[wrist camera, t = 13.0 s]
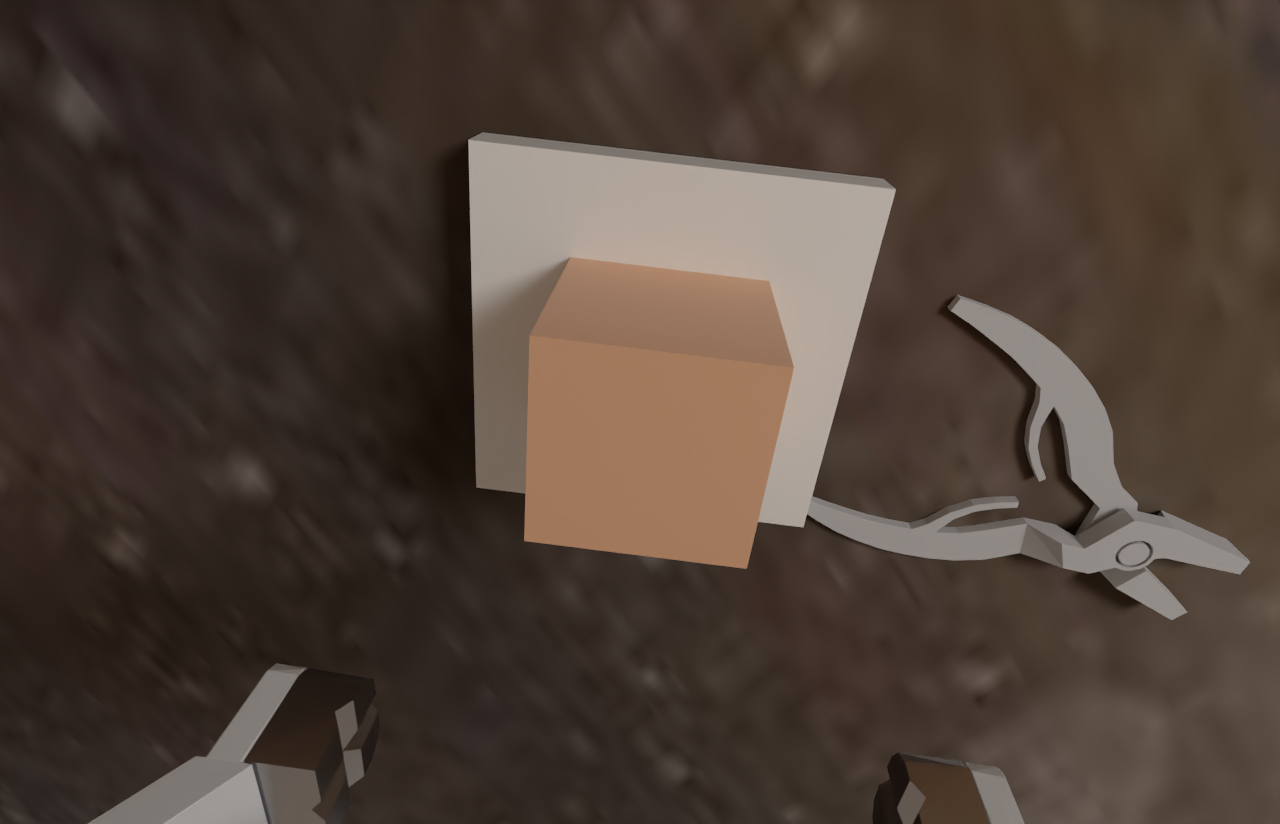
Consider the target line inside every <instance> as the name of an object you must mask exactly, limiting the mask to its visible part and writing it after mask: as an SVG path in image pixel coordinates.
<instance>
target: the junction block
mask: <svg viewBox="0 0 1280 824" xmlns="http://www.w3.org/2000/svg"><path fill="white" fill-rule="evenodd" d="M468 148H469V192H470V236H471V280H472V324H473V368H474V412H475V456H476V488H485V489H493V490H501V491H509V492H518V493H526V454H527V413H528V373H529V335H530V333H531V332H532V330H533V328H534V326H535V324H536V322H537V320H538V318H539V316H540V315H541V313H542V311H543V309H544V307H545V305H546V303H547V301H548V299H549V297H550V296H551V294H552V292H553V290H554V288H555V286H556V284H557V282H558V280H559V278H560V277H561V275H562V273H563V271H564V269H565V267H566V265H567V263H568V261H569V259H570V258H571V257H575V258H583V259H591V260H599V261H608V262H616V263H624V264H632V265H641V266H649V267H657V268H665V269H674V270H682V271H690V272H699V273H707V274H715V275H723V276H732V277H740V278H748V279H756V280H765V281H769V282H770V286H771V289H772V292H773V296H774V299H775V303H776V306H777V310H778V313H779V317H780V320H781V324H782V327H783V331H784V334H785V338H786V341H787V345H788V348H789V352H790V355H791V359H792V362H793V366H794V370H793V375H792V379H791V383H790V387H789V392H788V396H787V400H786V404H785V409H784V413H783V417H782V421H781V425H780V430H779V434H778V438H777V442H776V447H775V451H774V455H773V459H772V464H771V468H770V472H769V476H768V481H767V485H766V489H765V493H764V498H763V502H762V506H761V510H760V515H759V519H758V522H764V523H772V524H781V525H789V526H797V527H804V523H805V520H806V516H807V512H808V509H809V505H810V501H811V498H812V494H813V490H814V487H815V483H816V479H817V476H818V472H819V469H820V465H821V461H822V458H823V454H824V450H825V447H826V443H827V439H828V436H829V432H830V428H831V425H832V421H833V417H834V414H835V410H836V406H837V403H838V399H839V395H840V392H841V388H842V385H843V381H844V377H845V374H846V370H847V366H848V363H849V359H850V355H851V352H852V348H853V344H854V341H855V337H856V333H857V330H858V326H859V322H860V319H861V315H862V311H863V308H864V304H865V301H866V297H867V293H868V290H869V286H870V282H871V279H872V275H873V271H874V268H875V264H876V260H877V257H878V253H879V249H880V246H881V242H882V238H883V235H884V231H885V227H886V224H887V220H888V217H889V213H890V209H891V206H892V202H893V198H894V195H895V191H896V189H895V188H894V187H892V186H891V185H890V184H889V183H888V182H886V181H885V180H884V179H881V178H872V177H864V176H855V175H846V174H838V173H829V172H820V171H812V170H803V169H794V168H786V167H777V166H769V165H760V164H751V163H743V162H734V161H725V160H717V159H708V158H699V157H691V156H682V155H673V154H665V153H656V152H648V151H639V150H630V149H622V148H613V147H604V146H596V145H587V144H578V143H570V142H561V141H552V140H544V139H535V138H526V137H518V136H509V135H501V134H492V133H483V132H482V133H481V134H479V135H477V136H475V137H473V138H471V139H469V140H468Z"/></svg>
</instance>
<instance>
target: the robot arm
mask: <svg viewBox="0 0 1280 824" xmlns="http://www.w3.org/2000/svg"><path fill="white" fill-rule="evenodd" d="M375 694H376V691H375V685H374V679H370V678H364V677H358V676H352V675H346V674H340V673H334V672H328V671H322V670H316V669H310V668H305V667H298V666H292V665H285V664H278V663H276V664H275V665H274V666H273V667H271V668H270V669H269V670H268V671H266V672H265V674H264V675H263V676H262V678H261V679H260V681H259V682H258V683H257V685H256V686H255V688H254V689H253V691H252V692H251V693H250V695H249V696H248V698H247V699H246V701H245V702H244V703H243V705H242V706H241V708H240V709H239V710H238V712H237V713H236V715H235V716H234V718H233V719H232V720H231V722H230V723H229V725H228V726H227V728H226V729H225V730H224V732H223V733H222V735H221V736H220V737H219V739H218V740H217V742H216V743H215V745H214V746H213V747H212V749H211V750H210V752H209V753H208V755H207V756H206V757H203V756H195V757H193V758H192V759H190V760H189V761H187V762H185V763H184V764H182V765H181V766H179V767H177V768H176V769H174V770H173V771H171V772H169V773H168V774H166V775H165V776H163V777H161V778H160V779H158V780H157V781H155V782H153V783H152V784H150V785H149V786H147V787H145V788H144V789H142V790H141V791H139V792H137V793H136V794H134V795H133V796H131V797H129V798H128V799H126V800H125V801H123V802H121V803H120V804H118V805H117V806H115V807H113V808H112V809H110V810H109V811H107V812H105V813H104V814H102V815H101V816H99V817H97V818H96V819H94V820H93V821H91V822H89V823H88V824H342V822H343V820H344V818H345V816H346V814H347V811H348V809H349V807H350V805H351V799H350V793H349V787H350V786H351V785H352V784H354V783H355V782H356V781H358V780H359V779H360V778H362V777H363V776H364V775H365V773H366V771H367V768H368V766H369V764H370V762H371V760H372V757H373V754H374V750H375V747H376V743H377V740H378V733H379V714H378V712H377V711H376V710H375V709H374V708H373V707H372V706H371V702H372V700H373V698H374V696H375ZM887 768H888V772H889V777H890V779H889V780H888V781H886V782H884V783H882V784H880V785H879V787H878V790H877V793H876V796H875V798H874V807H873V824H1024V822H1023V819H1022V817H1021V814H1020V812H1019V809H1018V807H1017V804H1016V802H1015V800H1014V797H1013V795H1012V792H1011V790H1010V787H1009V785H1008V782H1007V780H1006V778H1005V775H1004V774H1003V773H1002V771H1001V770H1000V769H999V768H998V767H994V766H989V765H981V764H973V763H965V762H961V761H959V760H951V759H943V758H935V757H927V756H919V755H911V754H903V753H896V754H895V755H893V756H892V758H891V760H890V762H889V764H888V766H887Z"/></svg>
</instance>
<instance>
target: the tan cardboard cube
mask: <svg viewBox="0 0 1280 824" xmlns="http://www.w3.org/2000/svg"><path fill="white" fill-rule="evenodd" d="M793 370H794V366H793V362H792V359H791V355H790V352H789V348H788V345H787V341H786V338H785V334H784V331H783V327H782V324H781V320H780V317H779V313H778V310H777V306H776V303H775V299H774V296H773V292H772V289H771V286H770V282H769V281H765V280H756V279H748V278H740V277H732V276H723V275H715V274H707V273H699V272H690V271H682V270H674V269H665V268H657V267H649V266H641V265H632V264H624V263H616V262H608V261H599V260H591V259H583V258H575V257H571V258H570V259H569V261H568V263H567V265H566V267H565V269H564V271H563V273H562V275H561V277H560V278H559V280H558V282H557V284H556V286H555V288H554V290H553V292H552V294H551V296H550V297H549V299H548V301H547V303H546V305H545V307H544V309H543V311H542V313H541V315H540V316H539V318H538V320H537V322H536V324H535V326H534V328H533V330H532V332H531V333H530V335H529V373H528V413H527V454H526V494H525V534H524V541H529V542H537V543H545V544H553V545H561V546H569V547H577V548H585V549H593V550H601V551H609V552H617V553H625V554H633V555H641V556H649V557H657V558H665V559H673V560H681V561H689V562H697V563H705V564H713V565H721V566H729V567H737V568H745V569H747V566H748V561H749V557H750V553H751V549H752V544H753V540H754V536H755V532H756V527H757V523H758V519H759V515H760V510H761V506H762V502H763V498H764V493H765V489H766V485H767V481H768V476H769V472H770V468H771V464H772V459H773V455H774V451H775V447H776V442H777V438H778V434H779V430H780V425H781V421H782V417H783V413H784V409H785V404H786V400H787V396H788V392H789V387H790V383H791V379H792V375H793Z"/></svg>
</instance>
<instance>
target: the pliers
mask: <svg viewBox="0 0 1280 824" xmlns="http://www.w3.org/2000/svg"><path fill="white" fill-rule="evenodd" d="M948 308H949V309H950V310H951V311H952V312H953V313H955V314H956V315H958V316H959V317H960V318H962V319H963V320H965V321H966V322H968V323H969V324H971V325H972V326H974V327H975V328H976V329H977V330H979V331H980V332H981V333H983V334H984V335H985V336H986V337H988V338H989V339H990V340H991V341H993V342H994V343H995V344H997V345H998V346H999V347H1000V348H1001V349H1003V350H1004V351H1005V352H1006V353H1008V354H1009V355H1010V356H1011V357H1012V358H1013V359H1014V360H1015V361H1016V362H1017V363H1018V364H1019V365H1020V366H1021V367H1022V368H1023V369H1024V370H1025V371H1026V372H1027V374H1028V375H1029V376H1030V377H1031V378H1032V379H1033V380H1034V381H1035V383H1036V392H1035V400H1034V402H1033V405H1032V408H1031V410H1030V413H1029V416H1028V418H1027V421H1026V430H1025V440H1024V444H1025V448H1026V453H1027V457H1028V461H1029V463H1030V466H1031V468H1032V470H1033V473H1034V475H1035V477H1036V478H1037V480H1038V481H1039V482H1040V481H1042V480H1044V479H1046V477H1045V474H1044V472H1043V469H1042V466H1041V464H1040V458H1039V452H1038V447H1037V446H1038V441H1039V435H1040V430H1041V426H1042V425H1043V423H1044V421H1045V420H1046V418H1047V417H1048V415H1049V413H1050V412H1051V410H1052V409H1054V410H1055V412H1056V414H1057V416H1058V418H1059V421H1060V426H1061V431H1062V437H1063V442H1064V450H1065V459H1066V468H1067V474H1068V476H1069V477H1070V478H1071V479H1072V480H1073V481H1074V482H1075V483H1076V484H1077V486H1078V487H1079V488H1080V489H1081V490H1082V491H1083V492H1084V493H1085V494H1086V495H1087V496H1088V497H1089V498H1090V499H1091V500H1092V501H1093V502H1094V505H1093V506H1092V508H1091V509H1090V511H1089V513H1088V514H1087V516H1086V517H1085V519H1084V521H1083V522H1082V524H1081V526H1080V527H1079V529H1078V530H1077V532H1076V534H1075V535H1072V534H1070V533H1069V532H1067V531H1065V530H1064V529H1062V528H1060V527H1059V526H1057V525H1055V524H1051V523H1046V522H1042V521H1037V520H1032V519H1028V518H1017V519H1011V520H1004V521H998V522H992V523H986V524H978V525H970V526H962V527H943V526H945V525H946V524H947V523H949V522H950V521H952V520H953V519H955V518H958V517H961V516H964V515H967V514H969V513H972V512H975V511H982V510H989V509H996V508H1017V507H1018V504H1019V501H1018V500H1017V498H1016V497H1015V496H1001V497H986V498H978V499H970V500H967V501H964V502H961V503H957V504H954V505H951V506H948V507H945V508H943V509H941V510H940V511H938V512H936V513H934V514H932V515H930V516H928V517H926V518H924V519H921V520H917V521H914V522H910V523H906V522H901V521H896V520H891V519H886V518H881V517H877V516H872V515H868V514H864V513H861V512H858V511H855V510H851V509H848V508H845V507H842V506H839V505H836V504H833V503H830V502H827V501H824V500H821V499H818V498H816V497H813V496H812V498H811V501H810V505H809V509H808V512H807V514H808V515H809V516H811V517H812V518H814V519H815V520H817V521H818V522H820V523H822V524H823V525H825V526H827V527H829V528H830V529H832V530H834V531H835V532H838V533H840V534H842V535H845V536H847V537H849V538H852V539H854V540H856V541H859V542H862V543H865V544H868V545H871V546H873V547H876V548H879V549H883V550H888V551H892V552H896V553H901V554H905V555H911V556H918V557H924V558H931V559H944V560H984V559H989V558H995V557H1000V556H1006V555H1012V554H1017V553H1021V554H1024V555H1027V556H1030V557H1033V558H1036V559H1039V560H1041V561H1044V562H1047V563H1050V564H1053V565H1056V566H1059V567H1062V568H1065V569H1070V570H1074V571H1078V572H1083V573H1087V574H1090V573H1095V572H1099V571H1100V572H1101V573H1102V574H1103V575H1104V576H1105V577H1106V578H1107V579H1108V581H1109V582H1110V583H1111V584H1112V585H1113V586H1114V587H1115V588H1116V589H1118V590H1120V591H1122V592H1123V593H1125V594H1127V595H1129V596H1130V597H1132V598H1134V599H1136V600H1137V601H1139V602H1141V603H1143V604H1144V605H1146V606H1148V607H1150V608H1151V609H1153V610H1155V611H1157V612H1158V613H1160V614H1162V615H1164V616H1165V617H1167V618H1169V619H1171V620H1173V619H1175V618H1177V617H1179V616H1181V615H1183V614H1185V613H1187V611H1186V610H1185V609H1184V608H1183V606H1182V605H1181V604H1180V603H1179V602H1178V600H1177V599H1176V598H1175V597H1174V596H1173V595H1172V593H1171V592H1170V591H1169V590H1168V589H1167V588H1166V587H1165V586H1164V585H1163V584H1162V583H1161V582H1160V581H1159V580H1158V579H1157V578H1156V577H1155V576H1154V575H1153V574H1152V573H1151V572H1150V571H1149V570H1148V569H1147V568H1146V567H1145V566H1147V565H1149V564H1150V563H1151V562H1152V561H1153V560H1154V559H1160V558H1166V559H1171V560H1175V561H1180V562H1185V563H1189V564H1194V565H1199V566H1203V567H1208V568H1213V569H1217V570H1222V571H1227V572H1231V573H1236V574H1241V572H1242V571H1243V570H1244V569H1245V568H1246V567H1247V565H1248V564H1249V563H1250V561H1249V560H1248V559H1247V558H1246V557H1245V556H1244V555H1243V554H1242V553H1240V552H1239V551H1238V550H1237V549H1236V548H1235V547H1234V546H1233V545H1232V544H1231V543H1230V542H1229V541H1228V540H1227V539H1225V538H1223V537H1220V536H1218V535H1216V534H1213V533H1211V532H1209V531H1207V530H1204V529H1202V528H1200V527H1198V526H1195V525H1193V524H1191V523H1189V522H1186V521H1184V520H1182V519H1180V518H1177V517H1175V516H1173V515H1171V514H1168V513H1166V512H1164V511H1160V512H1159V513H1158V515H1152V514H1148V513H1143V512H1139V511H1137V507H1138V503H1137V502H1136V501H1135V500H1134V499H1133V498H1132V497H1131V496H1130V495H1129V494H1128V493H1127V492H1126V491H1125V490H1124V489H1123V488H1122V486H1121V483H1120V480H1119V478H1118V475H1117V472H1116V469H1115V466H1114V461H1113V431H1112V428H1111V425H1110V422H1109V419H1108V416H1107V413H1106V410H1105V408H1104V406H1103V404H1102V402H1101V401H1100V399H1099V397H1098V395H1097V394H1096V392H1095V390H1094V388H1093V387H1092V386H1091V384H1090V383H1089V382H1088V380H1087V379H1086V378H1085V377H1084V375H1083V374H1082V373H1081V371H1080V370H1079V369H1078V368H1077V367H1076V366H1075V365H1074V363H1073V362H1072V361H1071V360H1070V359H1069V358H1068V357H1067V356H1066V355H1065V354H1064V353H1063V352H1062V351H1061V350H1060V349H1059V348H1058V347H1057V346H1055V345H1054V344H1053V343H1052V342H1050V341H1049V340H1048V339H1046V338H1045V337H1044V336H1042V335H1041V334H1040V333H1038V332H1037V331H1036V330H1035V329H1033V328H1031V327H1030V326H1028V325H1026V324H1025V323H1023V322H1021V321H1020V320H1018V319H1016V318H1015V317H1013V316H1011V315H1009V314H1007V313H1005V312H1002V311H1000V310H997V309H995V308H993V307H990V306H988V305H986V304H983V303H980V302H977V301H974V300H971V299H968V298H965V297H962V296H959V295H957V296H956V297H955V298H954V299H953V301H952V302H951V303H950V305H949V306H948Z"/></svg>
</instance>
